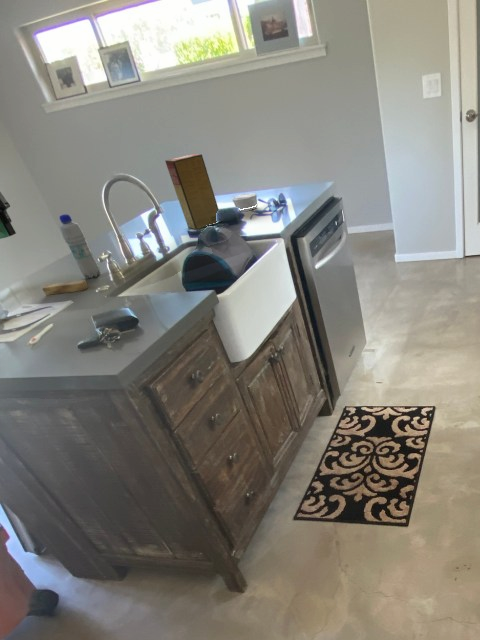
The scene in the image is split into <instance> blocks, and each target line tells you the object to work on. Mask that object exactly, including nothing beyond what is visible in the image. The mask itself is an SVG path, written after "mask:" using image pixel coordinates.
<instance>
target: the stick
mask: <svg viewBox="0 0 480 640" xmlns="http://www.w3.org/2000/svg"><path fill="white" fill-rule="evenodd" d="M87 289H89V285H88V283H87V281H86V279H81V280H75V281H67V282H59V283H53V284H52V283H51V284H46V285H44V286H43V287H42V290H43V292H44V294H45V295H46V296H51V295H58V294H66V293H67V294H68V293H75V292H82V291H86V290H87Z"/></svg>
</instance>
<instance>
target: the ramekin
mask: <svg viewBox="0 0 480 640" xmlns="http://www.w3.org/2000/svg"><path fill="white" fill-rule="evenodd" d="M257 197H258V195H257V193H254V192H253V193H243V194H239V195H236V196H234V197H233V198H232V199H231V200H232V202H233V204H234V206H235V208H236V207H238V208H240V209H243V208H248V207H252V206H255V205H256V204H257V206H256V207H257V208H258V199H257ZM256 207H253V208H250V209H244V210H241V211H246V212H250V211H253V210H252V209H254V210H256V209H257V208H256ZM255 208H256V209H255ZM249 210H250V211H249Z"/></svg>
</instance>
